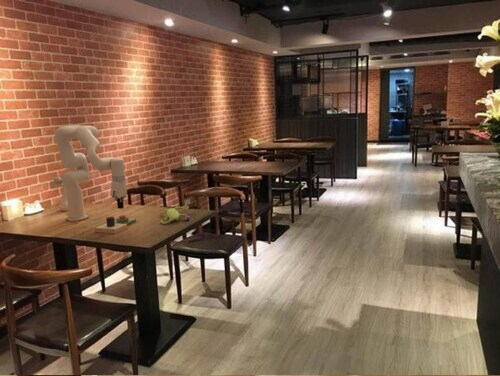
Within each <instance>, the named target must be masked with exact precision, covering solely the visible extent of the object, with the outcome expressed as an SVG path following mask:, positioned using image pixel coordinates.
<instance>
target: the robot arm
mask: <svg viewBox="0 0 500 376" xmlns="http://www.w3.org/2000/svg"><path fill="white" fill-rule="evenodd" d="M98 136H99V131H98V129H97V127H95V126H94V125H86V124H85V125H83V124H74V125H62V126H60V127H57V129H56V130H55V132H54V139H55V142H56V145H57V147H58V151H59V152H58V153H59V156H60V161H61V165H62V167H63V168H64V169H66V170H68V169H72V170H68V171H66V172H65V173H64V174H63V175H62V176H63V182H64V185H65V188H66V194H67V202H68V210H69V211H65V213H64V215H65V216H67V217H66V220H67V221H68V222H69V221H70V222H78V221H83V220H86V219H88V218H89V217H88V215H87V214H86V212H85V211H86V210H85V203H84V195H83V190H82V188H81V187H80V185H82V184H86V183H88V182H89V181H90V178H91V173H90V168H89V164H91V166H92V167H93V168H94V169H95V170H96V171H97V172H104V171H111V185H110V195H111V196H110V197H111V198H112V199H113V201H115V202H116V205H117V209H120V210H122V209H124V208H125V205H124V202H125V198H127V195H128V188H127V183H126V182H127V181H126V174H125V173H126V172H125V161H124V158H122V157H113V156H107V157H102V158H100V157H99V156H98V154H97V153H96V151H97V150H98V149H99V147H100V145H101V144H100V141H99V140H98V139H97V138H98ZM69 140H78V141H79V142H80V144H81V145H82V146H83V148H85V150H86V151H87V156H86V155H85V154H84V153H82V152H75V149H74V146H73V144H72V143H71V141H69ZM88 162H89V163H88Z"/></svg>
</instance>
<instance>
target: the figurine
mask: <svg viewBox="0 0 500 376" xmlns="http://www.w3.org/2000/svg"><path fill="white" fill-rule="evenodd" d="M189 208H190V206H187V205H186V206H185V205H183V206H176V207H173V208H163V210H162V211H161V213H160V216H161V217H162V216H163V215H164V214H165V213H166V216H165V217H164V221H163V218H161V219H160V223H161V224H162V225H167V224H169V223H170V222H174V221H179V218H180V217H183V219H184V220H185V221H189V220H190V218H191V216H190V215H189V214H185V213H179V211H178V210H181V209H182V210H185V211H187V210H189Z"/></svg>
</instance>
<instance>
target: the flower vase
mask: <svg viewBox="0 0 500 376" xmlns="http://www.w3.org/2000/svg"><path fill="white" fill-rule="evenodd" d="M49 182H50V184H52V188H53V189H54V188H56V189H59V188H60V187H61V192H62V198H61V202H60V203H59V205H58V208H59V209H60V210H61V211H62V212H69V210H68V202H67V194H66V188H65V185H64V182H63V175H62V176H61V177H60V178H59V177H58V176H55V177H53V180H50V181H49Z"/></svg>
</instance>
